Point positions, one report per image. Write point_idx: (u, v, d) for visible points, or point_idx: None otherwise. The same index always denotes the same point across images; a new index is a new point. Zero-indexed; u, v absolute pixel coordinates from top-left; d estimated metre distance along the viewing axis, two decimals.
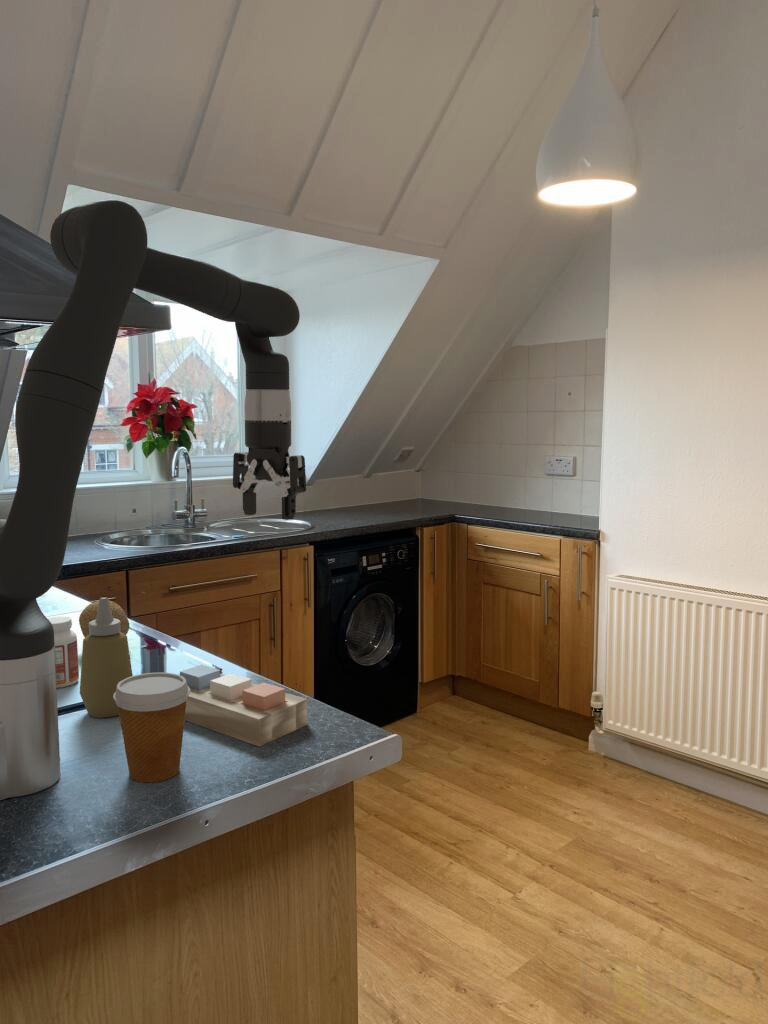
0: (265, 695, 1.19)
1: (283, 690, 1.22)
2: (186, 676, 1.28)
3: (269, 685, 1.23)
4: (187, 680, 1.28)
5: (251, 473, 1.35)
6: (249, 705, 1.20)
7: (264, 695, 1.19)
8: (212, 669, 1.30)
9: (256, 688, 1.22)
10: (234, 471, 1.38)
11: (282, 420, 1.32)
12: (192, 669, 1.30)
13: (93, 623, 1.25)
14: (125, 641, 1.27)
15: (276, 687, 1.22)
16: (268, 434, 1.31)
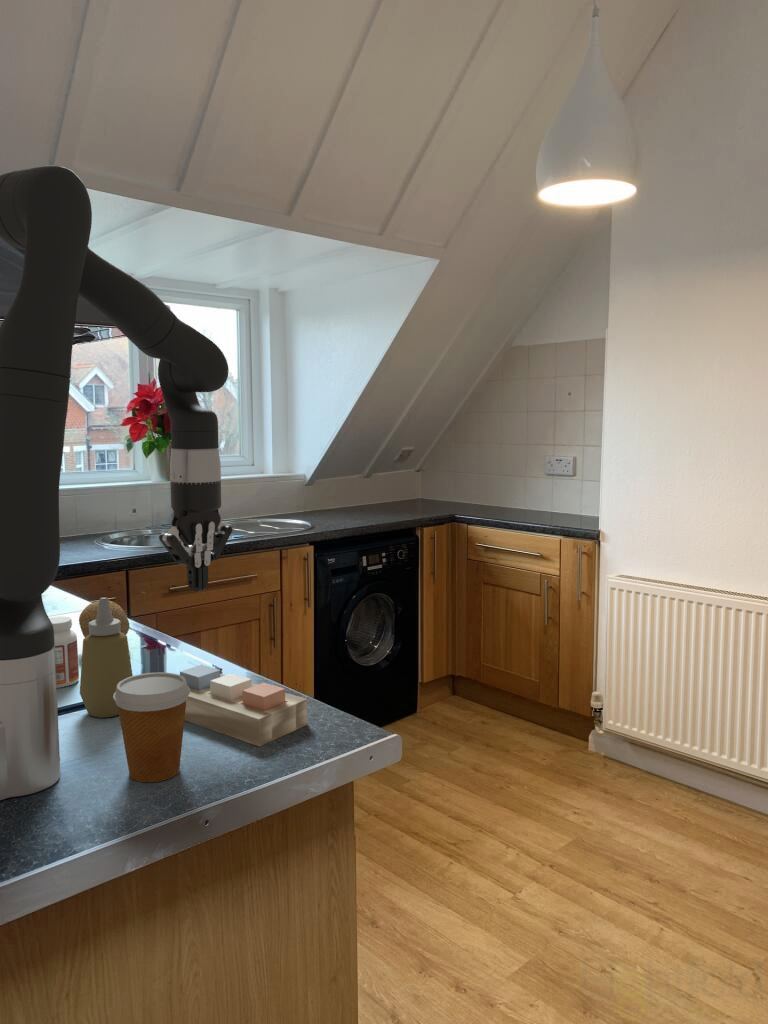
0: (265, 695, 1.19)
1: (283, 690, 1.22)
2: (186, 676, 1.28)
3: (269, 685, 1.23)
4: (187, 680, 1.28)
5: (200, 539, 1.25)
6: (249, 705, 1.20)
7: (264, 695, 1.19)
8: (212, 669, 1.30)
9: (256, 688, 1.22)
10: (180, 552, 1.23)
11: None
12: (192, 669, 1.30)
13: (93, 623, 1.25)
14: (125, 641, 1.27)
15: (276, 687, 1.22)
16: None
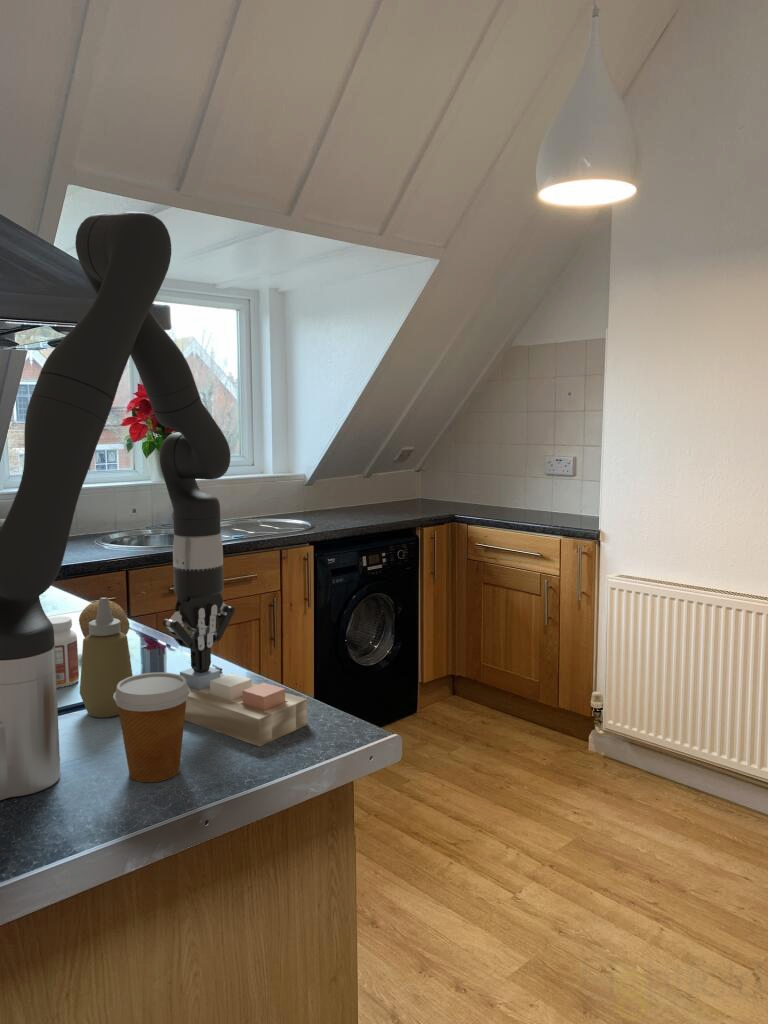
0: (265, 695, 1.19)
1: (283, 690, 1.22)
2: (186, 676, 1.28)
3: (269, 685, 1.23)
4: (187, 680, 1.28)
5: (203, 623, 1.27)
6: (249, 705, 1.20)
7: (264, 695, 1.19)
8: (212, 669, 1.30)
9: (256, 688, 1.22)
10: (183, 637, 1.25)
11: None
12: (192, 669, 1.30)
13: (93, 623, 1.25)
14: (125, 641, 1.27)
15: (276, 687, 1.22)
16: None
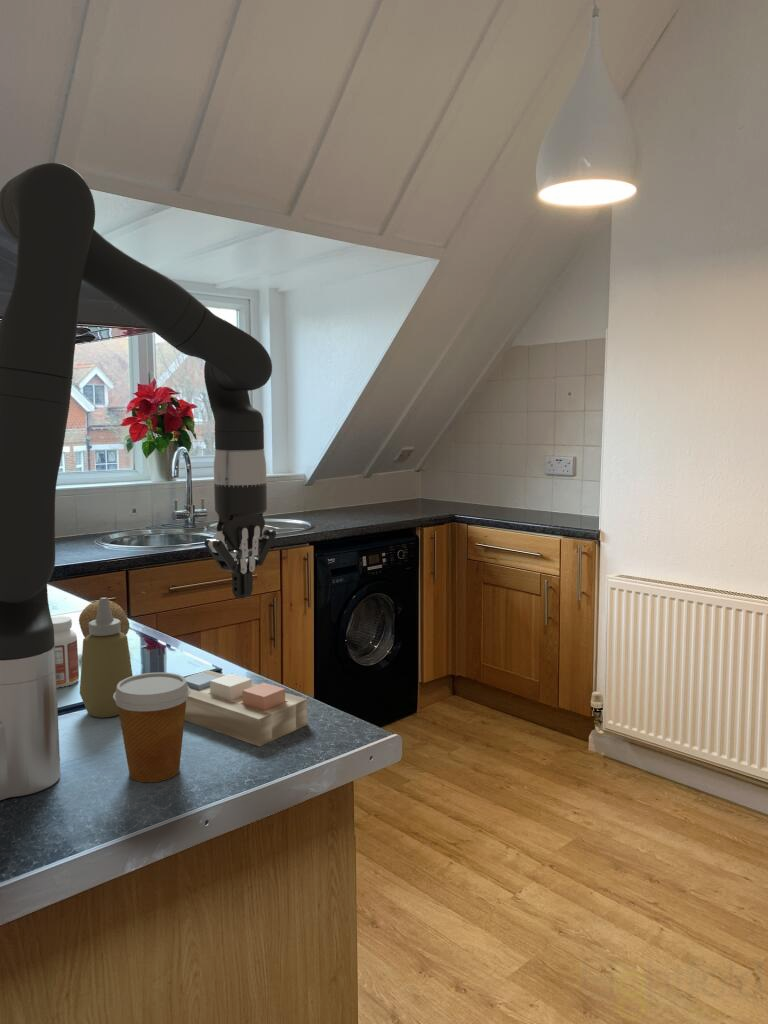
0: (265, 695, 1.19)
1: (283, 690, 1.22)
2: None
3: (269, 685, 1.23)
4: None
5: (246, 544, 1.20)
6: (249, 705, 1.20)
7: (264, 695, 1.19)
8: (212, 677, 1.30)
9: (256, 688, 1.22)
10: (227, 558, 1.18)
11: None
12: (192, 677, 1.30)
13: (93, 623, 1.25)
14: (125, 641, 1.27)
15: (276, 687, 1.22)
16: (266, 497, 1.21)
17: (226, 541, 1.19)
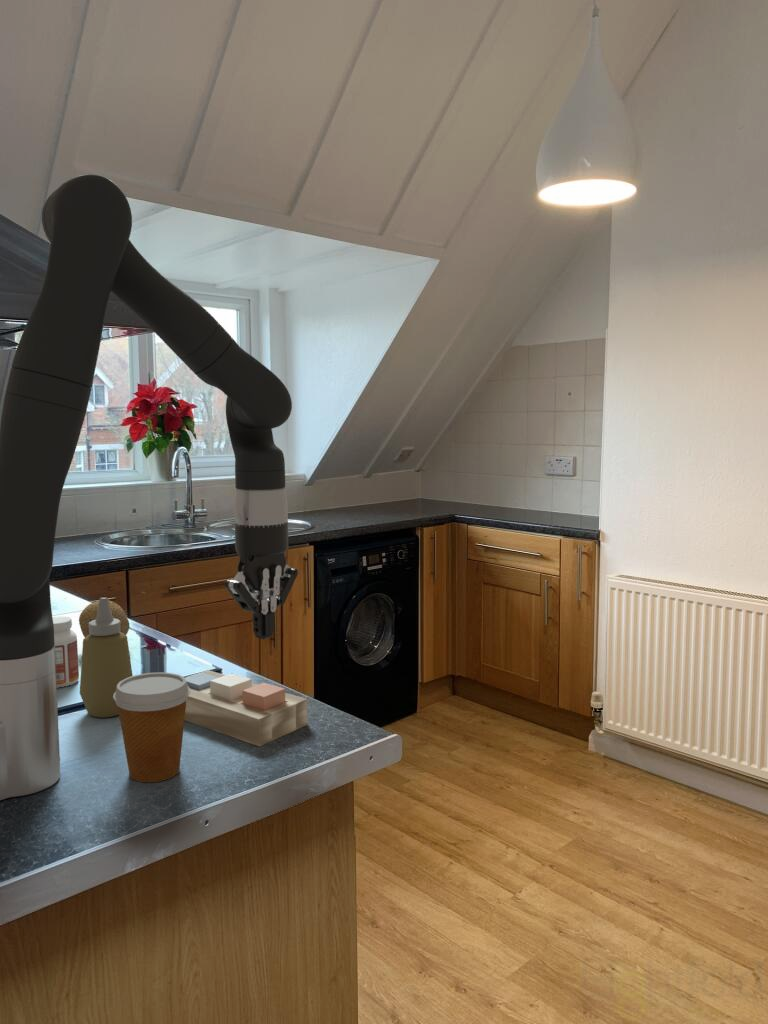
0: (265, 695, 1.19)
1: (283, 690, 1.22)
2: None
3: (269, 685, 1.23)
4: None
5: (267, 585, 1.18)
6: (249, 705, 1.20)
7: (264, 695, 1.19)
8: (212, 677, 1.30)
9: (256, 688, 1.22)
10: (247, 599, 1.15)
11: None
12: (192, 677, 1.30)
13: (93, 623, 1.25)
14: (125, 641, 1.27)
15: (276, 687, 1.22)
16: None
17: (247, 581, 1.17)
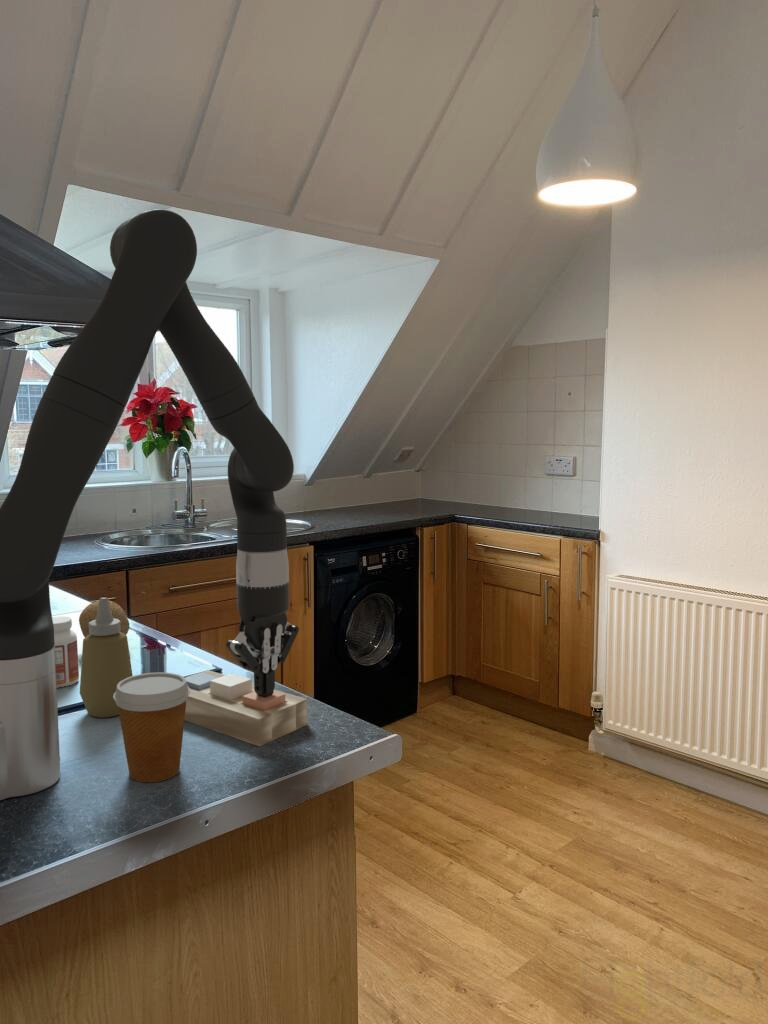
0: (265, 701, 1.19)
1: (283, 695, 1.22)
2: None
3: None
4: None
5: (268, 644, 1.19)
6: None
7: (264, 701, 1.19)
8: (212, 677, 1.30)
9: (256, 694, 1.22)
10: (249, 660, 1.17)
11: None
12: (192, 677, 1.30)
13: (93, 623, 1.25)
14: (125, 641, 1.27)
15: (276, 692, 1.22)
16: None
17: (248, 641, 1.18)
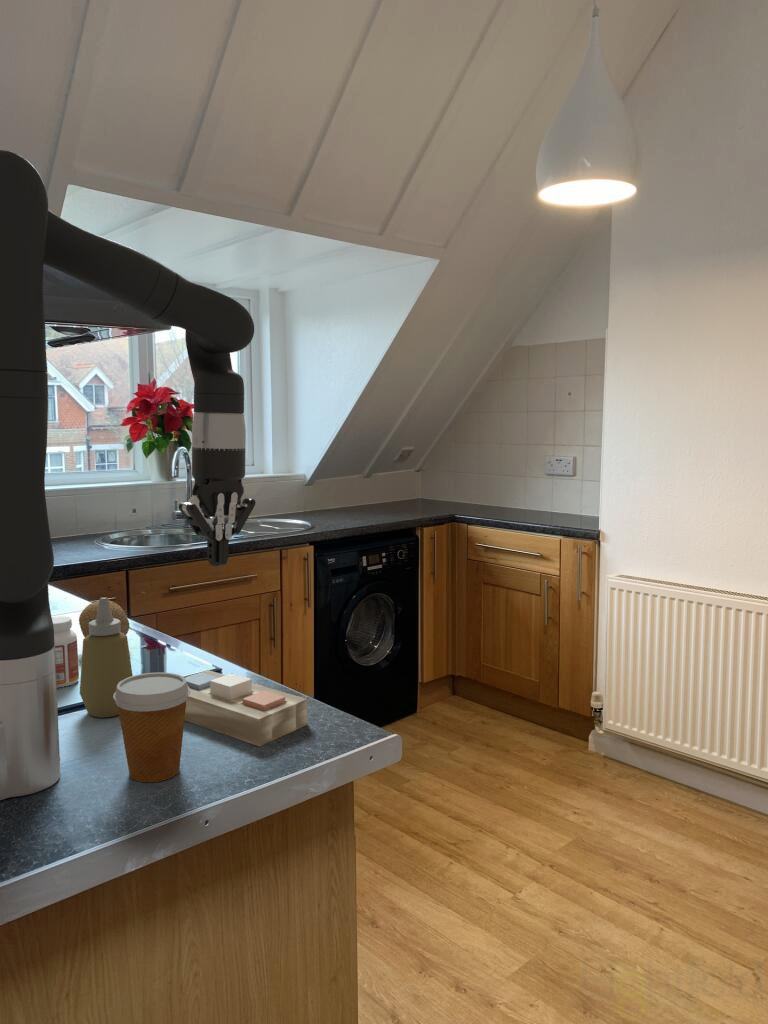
0: (265, 703, 1.19)
1: (283, 698, 1.22)
2: None
3: (269, 693, 1.23)
4: None
5: (222, 510, 1.17)
6: None
7: (264, 703, 1.19)
8: (212, 677, 1.30)
9: (256, 696, 1.22)
10: (201, 523, 1.15)
11: None
12: (192, 677, 1.30)
13: (93, 623, 1.25)
14: (125, 641, 1.27)
15: (276, 695, 1.22)
16: None
17: (201, 506, 1.17)
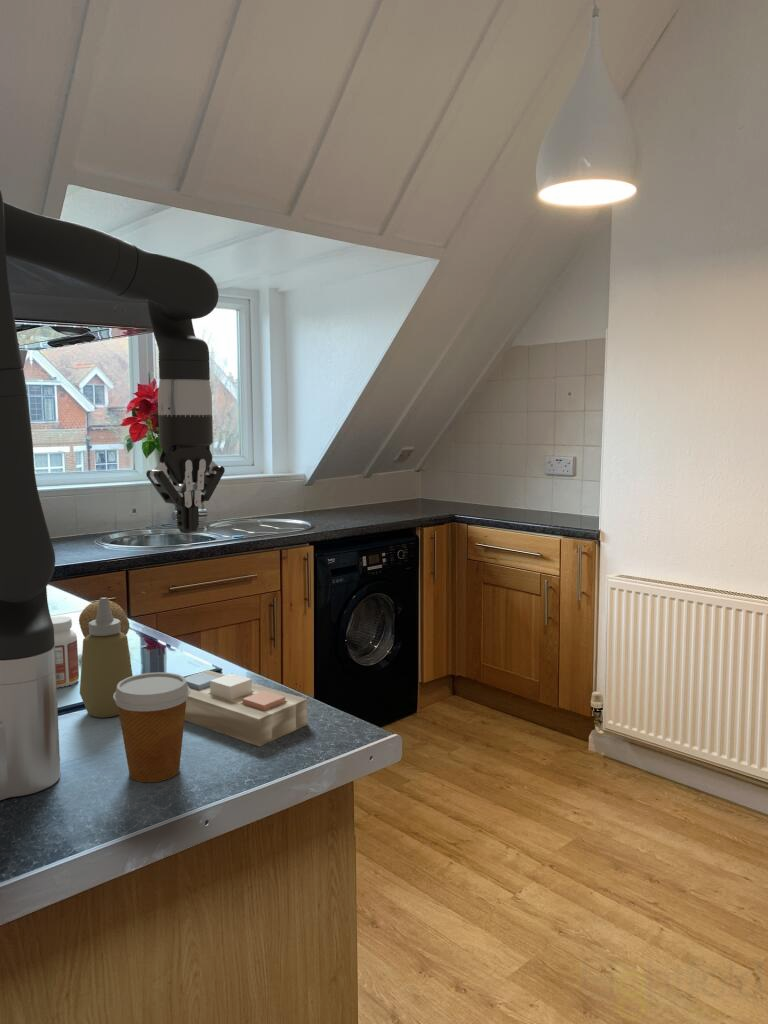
0: (265, 703, 1.19)
1: (283, 698, 1.22)
2: None
3: (269, 693, 1.23)
4: None
5: (190, 477, 1.18)
6: None
7: (264, 703, 1.19)
8: (212, 677, 1.30)
9: (256, 696, 1.22)
10: (169, 490, 1.15)
11: None
12: (192, 677, 1.30)
13: (93, 623, 1.25)
14: (125, 641, 1.27)
15: (276, 695, 1.22)
16: (212, 429, 1.19)
17: (170, 473, 1.17)
